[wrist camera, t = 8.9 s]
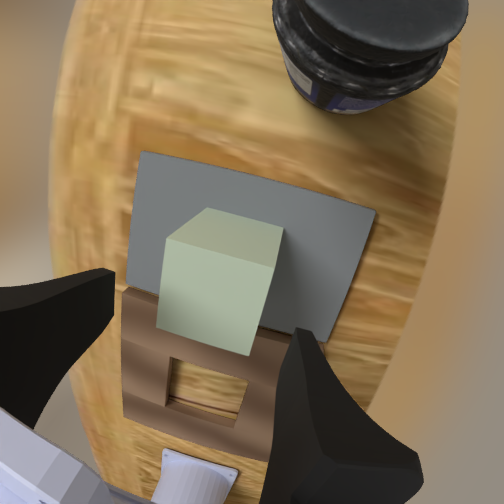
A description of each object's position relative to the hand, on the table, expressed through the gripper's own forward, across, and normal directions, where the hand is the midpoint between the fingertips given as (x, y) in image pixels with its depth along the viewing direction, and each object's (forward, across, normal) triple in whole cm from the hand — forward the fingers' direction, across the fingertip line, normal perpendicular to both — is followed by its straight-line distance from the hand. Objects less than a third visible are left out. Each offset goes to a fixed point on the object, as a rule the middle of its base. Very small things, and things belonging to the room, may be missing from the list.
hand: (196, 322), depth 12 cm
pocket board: (+8, 0, +12) cm, 15 cm away
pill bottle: (+8, -3, -12) cm, 15 cm away
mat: (+8, 0, 0) cm, 8 cm away
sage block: (+8, 0, 0) cm, 8 cm away
